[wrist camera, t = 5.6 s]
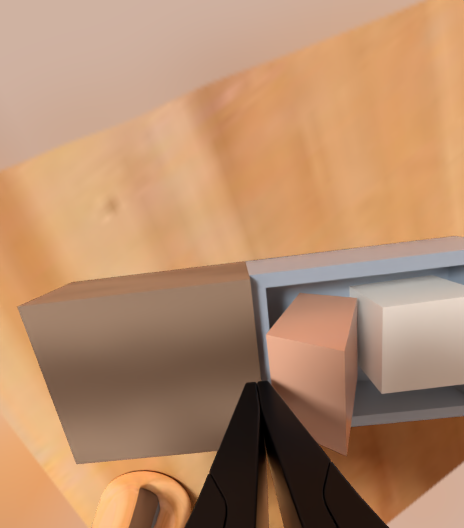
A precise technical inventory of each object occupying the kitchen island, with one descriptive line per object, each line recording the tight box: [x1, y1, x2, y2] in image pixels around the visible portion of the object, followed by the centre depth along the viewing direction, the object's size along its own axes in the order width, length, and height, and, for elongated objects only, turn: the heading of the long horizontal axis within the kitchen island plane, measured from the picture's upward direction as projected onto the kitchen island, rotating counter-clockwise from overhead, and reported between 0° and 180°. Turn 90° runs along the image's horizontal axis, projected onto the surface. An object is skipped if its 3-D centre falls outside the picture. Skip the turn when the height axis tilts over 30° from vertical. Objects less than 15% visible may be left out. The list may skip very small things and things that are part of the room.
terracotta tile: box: [266, 293, 358, 456], centre depth 9 cm, size 4×4×2 cm
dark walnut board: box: [18, 262, 261, 464], centre depth 11 cm, size 8×9×3 cm
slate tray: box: [245, 236, 464, 427], centre depth 11 cm, size 8×10×2 cm
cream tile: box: [349, 275, 464, 394], centre depth 10 cm, size 4×4×2 cm
